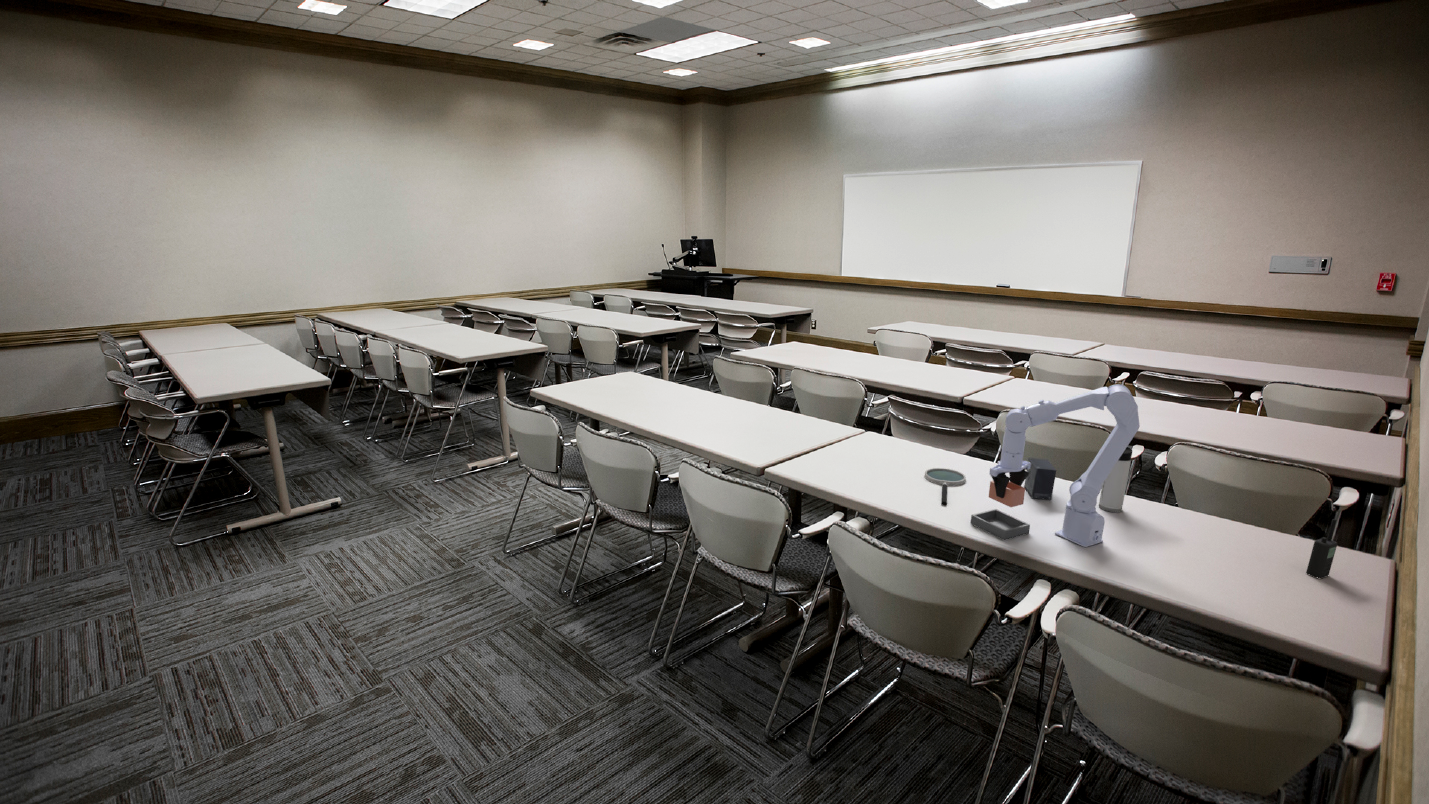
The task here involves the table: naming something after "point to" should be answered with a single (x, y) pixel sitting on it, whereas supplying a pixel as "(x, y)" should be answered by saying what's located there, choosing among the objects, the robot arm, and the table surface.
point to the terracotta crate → (1009, 494)
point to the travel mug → (1116, 484)
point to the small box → (1040, 479)
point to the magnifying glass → (945, 479)
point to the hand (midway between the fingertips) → (1006, 495)
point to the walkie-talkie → (1322, 555)
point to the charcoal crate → (1000, 524)
